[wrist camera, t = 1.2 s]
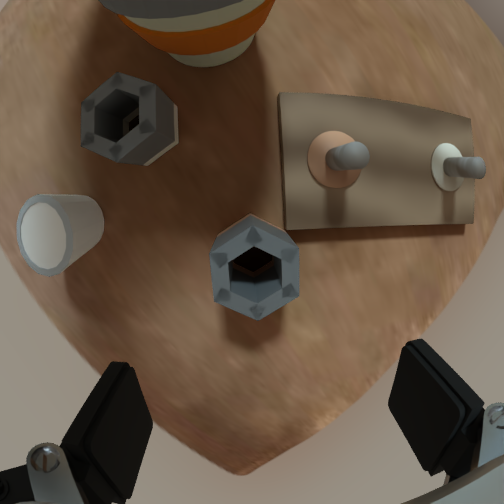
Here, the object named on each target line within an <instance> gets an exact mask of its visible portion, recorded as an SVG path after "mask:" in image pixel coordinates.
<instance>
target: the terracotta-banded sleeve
mask: <svg viewBox="0 0 504 504" xmlns="http://www.w3.org/2000/svg"><path fill="white" fill-rule="evenodd" d="M253 246H255V247H257V248H259V249H261V250H263V251H265V252H267V253H269V254H271V255H272V261H271V262H269V263H268V264H266V265H264V266H263V267H261V268H260V269H258V270H256V271H255V272H252V271H250V270H247V269H245V268H243V267H241V266H239V265H237V264H235V263H233V259H235V258H236V257H238V256H239V255H241V254H242V253H244V252H245V251H247V250H249V249H250V248H252V247H253ZM209 256H210V267H211V277H212V286H213V296H214V302H216V303H219V304H221V305H223V306H225V307H228V308H230V309H232V310H234V311H237V312H239V313H241V314H243V315H246V316H248V317H250V318H253V319H255V320H257V321H258V320H260V319H262V318H264V317H265V316H267V315H269V314H270V313H272V312H274V311H275V310H277V309H279V308H280V307H282V306H284V305H285V304H287V303H289V302H290V301H292V300H294V299H295V298H297V297H298V296H299V248H298V246H297V245H296V244H295V243H294V241H293V240H292V239H291V238H290V236H289V235H288V234H287V233H286V231H285V230H283V229H281V228H279V227H277V226H275V225H273V224H271V223H269V222H267V221H265V220H263V219H261V218H259V217H257V216H255V215H253V214H251V213H249V214H248V215H246V216H245V217H243V218H242V219H240V220H239V221H237V222H236V223H234V224H232V225H231V226H229V227H228V228H226V229H225V230H223V231H222V232H220V233H219V234H218V235H217V237H216V239H215V242H214V244H213V246H212V248H211V251H210V253H209Z"/></svg>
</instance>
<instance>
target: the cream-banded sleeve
mask: <svg viewBox="0 0 504 504" xmlns="http://www.w3.org/2000/svg"><path fill="white" fill-rule="evenodd" d="M138 115H139V125H137V126H136V127H135V128H134V129H132V130H131V131H130V132H129V122H130V121H131V120H132V119H134V118H135V117H136V116H138ZM178 143H179V139H178V109H177V106H176V105H175V104H174V103H173V102H172V101H171V100H170V98H169V97H168V96H167V95H166V94H165V93H164V92H163V91H162V90H161V89H160V88H159V87H158V86H157V85H156V84H154V83H151V82H148V81H145V80H142V79H139V78H136V77H133V76H129V75H126V74H123V73H119V72H116V73H115V74H114V75H113V76H111V77H110V78H109V79H108V80H107V81H105V82H104V83H103V84H102V85H101V86H99V87H98V88H97V89H96V90H95V91H94V92H93V93H91V94H90V95H89V96H88V97H87V98H86V99H85V100H84V101H83V102H82V103H81V147H84V148H86V149H88V150H90V151H93V152H95V153H97V154H99V155H102V156H104V157H106V158H108V159H110V160H113V161H115V162H117V163H126V164H136V165H145V166H149V165H150V164H151V163H152V162H154V161H155V160H156V159H158V158H159V157H160V156H162V155H163V154H164V153H166V152H167V151H168V150H170V149H171V148H172V147H174V146H175V145H177V144H178Z"/></svg>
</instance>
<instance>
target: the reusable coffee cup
mask: <svg viewBox="0 0 504 504" xmlns="http://www.w3.org/2000/svg"><path fill="white" fill-rule="evenodd" d="M99 1H100V2H101V3H102V4H103V6H104V7H105V8H107V9H109V10H111V11H113V12H115V13H116V14H117V15H118V17H119V18H120V19H121V20H122V21H123V23H124V24H125V25H127V26H128V27H129V28H131V29H132V30H133V31H134V32H136V33H137V34H138V35H139V36H141V37H142V38H143V39H144V40H146V41H147V42H148V43H150V44H151V45H153V46H154V47H156V48H157V49H160V50H162V51H165V52H167V53H168V54H169V55H171V56H172V57H173V58H174V59H176V60H177V61H178V62H181V63H183V64H185V65H189V66H194V67H212V66H217V65H221V64H224V63H227V62H229V61H231V60H233V59H235V58H236V57H238V56H240V55H241V54H242V53H243V52H244V51H245V50H246V49H247V48H248V47H249V45H250V44H251V42H252V40H253V38H254V35H255V33H256V32H257V31H258V30H259V28H260V27H261V26H262V25H263V24H264V22H265V20H266V18H267V16H268V14H269V12H270V10H271V8H272V6H273V4H274V2H275V0H99Z"/></svg>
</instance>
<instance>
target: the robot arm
mask: <svg viewBox="0 0 504 504" xmlns="http://www.w3.org/2000/svg"><path fill="white" fill-rule="evenodd" d="M483 405H484V402H483V401H482V399H481V398H480V397H479V396H478V395H477V394H476V393H475V392H474V391H473V390H472V389H471V388H470V386H469V385H468V384H467V383H466V382H465V381H464V380H463V379H462V378H461V377H460V376H459V375H458V374H457V373H456V372H455V371H454V370H453V369H452V368H451V367H450V366H449V365H448V364H447V363H446V362H445V361H444V360H443V359H442V358H441V357H440V356H439V355H438V354H437V353H436V352H435V351H434V350H433V349H432V348H431V347H430V346H429V345H428V344H427V343H426V342H425V341H424V340H423V339H417V340H413V341H408V342H407V343H406V345H405V346H404V347H403V348H402V350H401V355H400V359H399V363H398V368H397V371H396V375H395V379H394V383H393V386H392V390H391V394H390V397H389V401H388V406H389V409H390V411H391V413H392V415H393V416H394V418H395V420H396V421H397V423H398V425H399V427H400V429H401V430H402V432H403V434H404V436H405V437H406V439H407V440H408V443H409V444H410V446H411V448H412V450H413V452H414V453H415V455H416V457H417V459H418V461H419V463H420V464H421V466H422V468H423V469H424V470H425V471H428V472H429V474H430V476H433V475H435V474H437V473H440V472H441V471H443V470H444V471H445V472H446V477H445V481H444V484H443V486H442V487H439V488H437V489H435V490H433V491H431V492H429V493H427V494H424V495H422V496H420V497H417V498H415V499H412V500H410V501H407V502H404V503H402V504H504V403H494V404H491V405H489V406H488V407H487V408H486V410H484V408H483ZM152 428H153V421H152V418H151V415H150V413H149V410H148V407H147V405H146V402H145V399H144V396H143V394H142V391H141V388H140V385H139V382H138V379H137V376H136V373H135V370H134V368H133V367H130V365H129V364H128V363H127V362H114V361H113V362H111V363H110V364H109V366H108V367H107V369H106V370H105V372H104V373H103V375H102V376H101V378H100V379H99V381H98V383H97V384H96V386H95V387H94V389H93V390H92V392H91V393H90V395H89V397H88V398H87V400H86V402H85V403H84V405H83V406H82V408H81V410H80V411H79V413H78V414H77V416H76V418H75V419H74V421H73V423H72V424H71V426H70V428H69V429H68V431H67V433H66V434H65V436H64V438H63V440H62V443H61V445H60V446H58V445H56V444H54V443H48V442H47V443H41V444H38V445H36V446H35V447H33V448H32V449H31V450H30V451H29V453H28V455H27V458H26V459H27V460H26V462H27V464H26V465H22V466H19V467H16V468H12V469H8V470H4V471H1V472H0V504H111V503H112V502H114V503H117V504H125V502H126V499H130V498H131V496H132V493H133V489H134V486H135V483H136V479H137V476H138V473H139V469H140V466H141V463H142V459H143V456H144V453H145V450H146V447H147V444H148V440H149V437H150V434H151V431H152Z"/></svg>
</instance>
